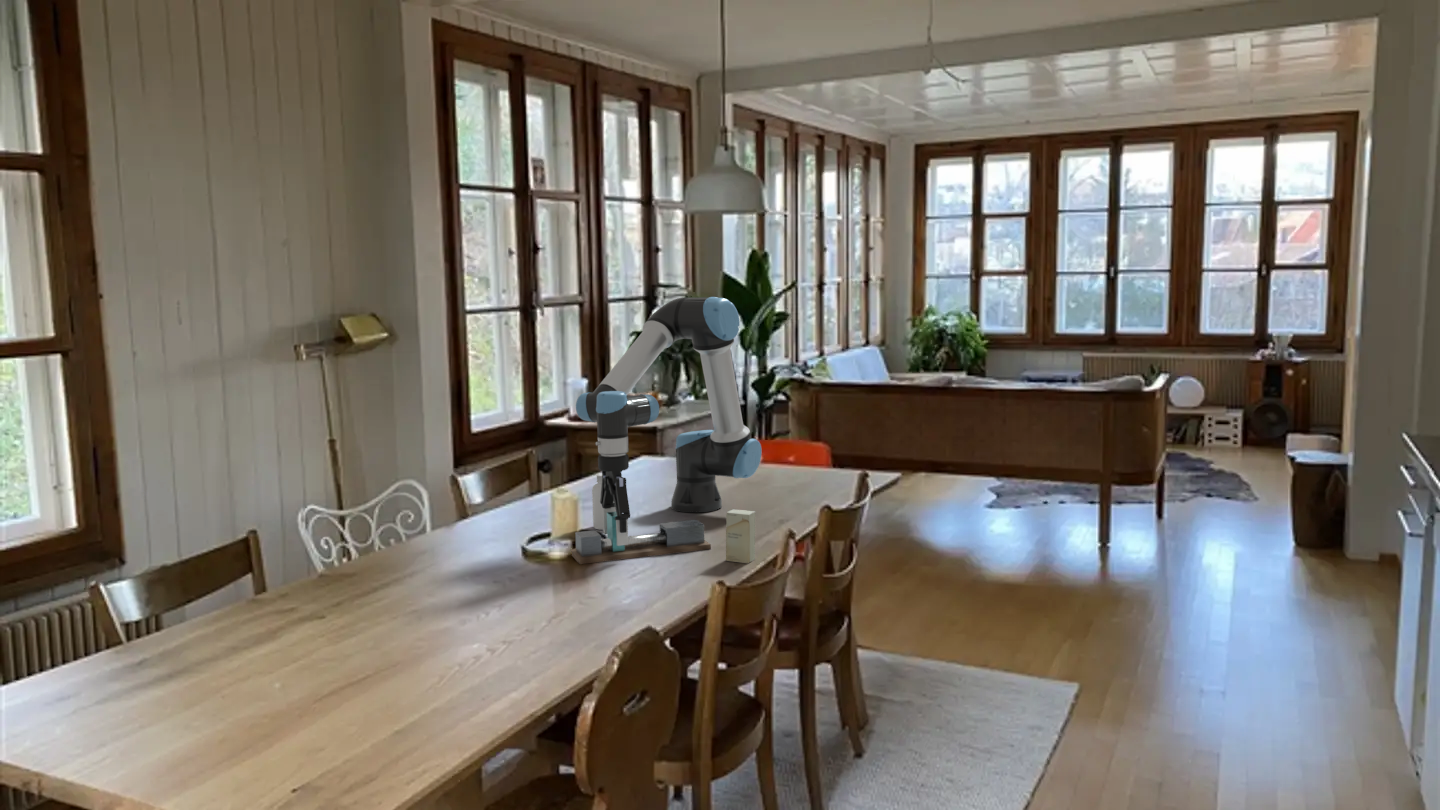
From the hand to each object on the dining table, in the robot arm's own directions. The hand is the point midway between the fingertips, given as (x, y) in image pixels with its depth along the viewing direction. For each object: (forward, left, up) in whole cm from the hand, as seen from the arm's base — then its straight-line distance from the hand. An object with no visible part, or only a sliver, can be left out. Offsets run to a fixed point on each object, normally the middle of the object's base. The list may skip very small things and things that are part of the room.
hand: (615, 539), depth 260 cm
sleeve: (-17, 0, -3) cm, 18 cm away
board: (-6, 0, -4) cm, 8 cm away
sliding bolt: (-3, 0, -3) cm, 4 cm away
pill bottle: (-5, -29, -4) cm, 30 cm away
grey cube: (+7, 0, -3) cm, 8 cm away
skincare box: (-26, +18, -4) cm, 32 cm away
